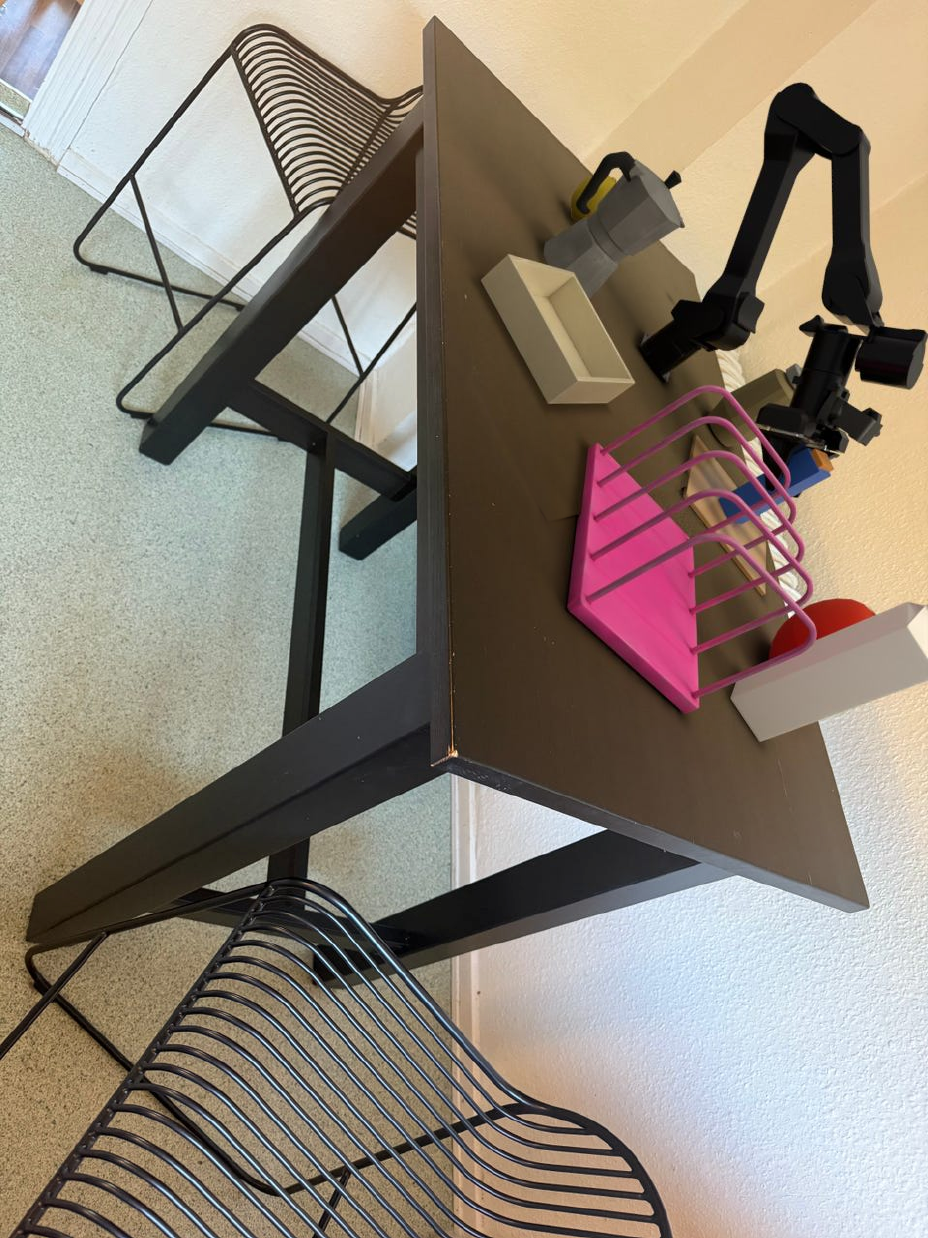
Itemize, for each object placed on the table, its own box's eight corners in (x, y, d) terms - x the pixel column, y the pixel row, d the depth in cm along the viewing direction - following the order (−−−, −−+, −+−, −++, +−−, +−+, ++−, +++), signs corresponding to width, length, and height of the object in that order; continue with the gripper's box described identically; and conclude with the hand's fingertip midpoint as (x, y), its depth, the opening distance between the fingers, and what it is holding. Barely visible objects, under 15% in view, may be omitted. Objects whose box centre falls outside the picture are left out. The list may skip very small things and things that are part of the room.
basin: (544, 297, 100) (573, 271, 97) (604, 405, 98) (635, 383, 96) (476, 283, 87) (508, 253, 85) (544, 406, 86) (578, 380, 84)
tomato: (801, 740, 98) (923, 696, 89) (747, 678, 94) (869, 627, 86) (796, 669, 107) (906, 624, 99) (747, 611, 103) (857, 559, 95)
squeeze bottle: (733, 440, 132) (841, 374, 121) (730, 461, 126) (844, 393, 115) (704, 401, 130) (812, 330, 119) (700, 420, 123) (813, 347, 113)
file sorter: (679, 549, 96) (805, 479, 87) (683, 716, 79) (841, 652, 69) (584, 449, 89) (710, 362, 80) (565, 610, 71) (724, 521, 62)
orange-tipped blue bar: (717, 499, 112) (812, 444, 104) (732, 502, 116) (824, 449, 108) (728, 521, 111) (825, 468, 103) (742, 524, 115) (836, 473, 107)
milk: (738, 673, 93) (939, 585, 80) (767, 716, 93) (971, 636, 81) (728, 699, 88) (942, 610, 75) (759, 744, 89) (976, 663, 76)
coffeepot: (585, 275, 114) (697, 181, 104) (600, 324, 110) (718, 231, 99) (511, 214, 104) (627, 102, 93) (525, 265, 100) (648, 154, 89)
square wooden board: (693, 436, 118) (696, 434, 118) (763, 527, 123) (766, 525, 123) (682, 496, 104) (686, 494, 104) (761, 596, 109) (765, 594, 109)
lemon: (583, 240, 120) (627, 201, 116) (558, 210, 118) (602, 169, 113) (584, 225, 124) (627, 187, 120) (561, 196, 122) (603, 156, 117)
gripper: (870, 370, 93) (820, 504, 97) (906, 400, 107) (862, 516, 111) (776, 354, 100) (733, 480, 103) (822, 385, 114) (783, 494, 118)
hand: (782, 494), depth 109 cm, fingers open, 9 cm apart
